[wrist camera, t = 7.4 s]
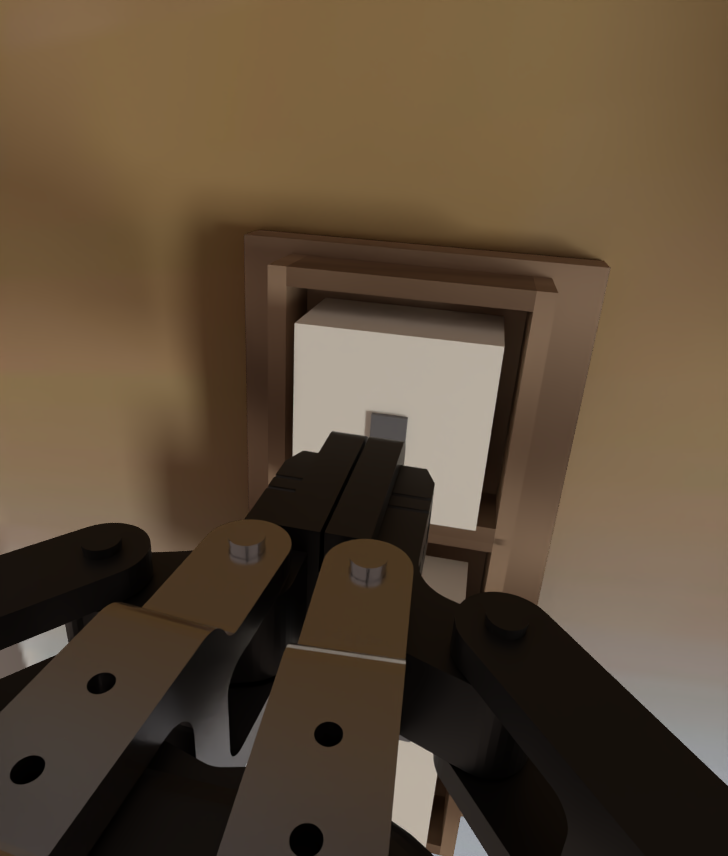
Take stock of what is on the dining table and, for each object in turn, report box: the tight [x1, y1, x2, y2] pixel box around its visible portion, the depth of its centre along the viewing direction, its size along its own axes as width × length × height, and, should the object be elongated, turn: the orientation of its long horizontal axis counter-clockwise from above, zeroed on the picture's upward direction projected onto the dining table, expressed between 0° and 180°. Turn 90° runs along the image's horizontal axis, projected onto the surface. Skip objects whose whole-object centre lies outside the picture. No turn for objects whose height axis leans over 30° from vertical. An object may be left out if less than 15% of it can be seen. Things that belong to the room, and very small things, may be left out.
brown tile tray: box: [244, 230, 610, 856], centre depth 21 cm, size 22×10×3 cm, turn 177°
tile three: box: [392, 759, 437, 848], centre depth 23 cm, size 5×5×3 cm
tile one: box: [293, 298, 505, 531], centre depth 17 cm, size 5×5×3 cm
